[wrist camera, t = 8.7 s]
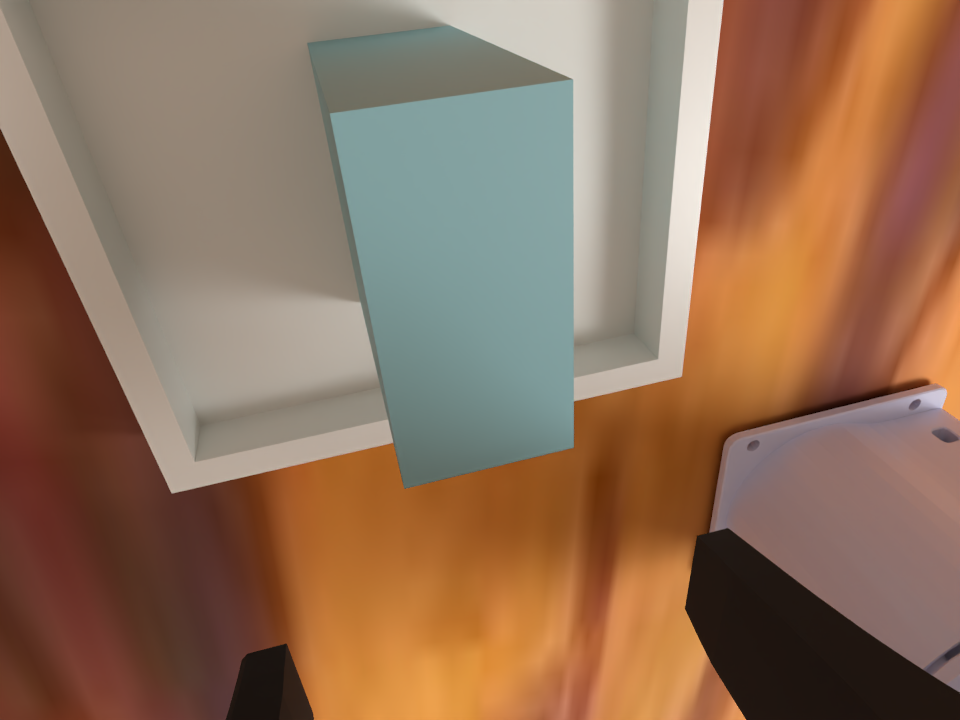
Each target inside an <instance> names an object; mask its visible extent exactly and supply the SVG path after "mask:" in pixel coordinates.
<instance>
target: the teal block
mask: <svg viewBox="0 0 960 720" xmlns="http://www.w3.org/2000/svg"><path fill="white" fill-rule="evenodd" d="M307 44H308V49H309V54H310V59H311V64H312V69H313V74H314V79H315V83H316V88H317V93H318V98H319V103H320V108H321V113H322V118H323V122H324V127H325V132H326V137H327V142H328V147H329V152H330V157H331V161H332V166H333V171H334V176H335V181H336V186H337V191H338V196H339V200H340V205H341V210H342V215H343V220H344V225H345V230H346V234H347V239H348V244H349V249H350V254H351V259H352V264H353V269H354V273H355V278H356V283H357V288H358V293H359V298H360V303H361V307H362V311H363V315H364V320H365V324H366V328H367V332H368V337H369V341H370V345H371V349H372V354H373V358H374V362H375V366H376V371H377V375H378V379H379V383H380V388H381V392H382V396H383V400H384V405H385V409H386V413H387V417H388V422H389V426H390V430H391V434H392V439H393V443H394V447H395V451H396V456H397V460H398V464H399V468H400V473H401V477H402V481H403V485H404V489H406V488H410V487H414V486H418V485H422V484H426V483H431V482H435V481H439V480H443V479H447V478H451V477H455V476H459V475H463V474H468V473H472V472H476V471H480V470H484V469H488V468H492V467H496V466H501V465H505V464H509V463H513V462H517V461H521V460H525V459H529V458H534V457H538V456H542V455H546V454H550V453H554V452H558V451H562V450H566V449H571V448H574V213H573V79H571V78H569V77H567V76H565V75H562V74H560V73H558V72H555V71H553V70H551V69H549V68H546V67H544V66H542V65H539V64H537V63H535V62H533V61H530V60H528V59H526V58H523V57H521V56H519V55H517V54H514V53H512V52H510V51H507V50H505V49H503V48H501V47H498V46H496V45H494V44H492V43H489V42H487V41H485V40H482V39H480V38H478V37H476V36H473V35H471V34H469V33H466V32H464V31H462V30H460V29H457V28H455V27H453V26H442V27H434V28H425V29H417V30H409V31H401V32H392V33H384V34H376V35H368V36H359V37H351V38H343V39H335V40H326V41H318V42H310V43H307Z"/></svg>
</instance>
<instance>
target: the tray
mask: <svg viewBox="0 0 960 720" xmlns="http://www.w3.org/2000/svg"><path fill="white" fill-rule="evenodd" d="M723 1H724V0H0V129H1V131H2V133H3V135H4V137H5V140H6V142H7V144H8V146H9V148H10V150H11V152H12V154H13V157H14V159H15V161H16V163H17V165H18V167H19V169H20V171H21V174H22V176H23V178H24V180H25V182H26V184H27V186H28V188H29V191H30V193H31V195H32V197H33V199H34V201H35V203H36V206H37V208H38V210H39V212H40V214H41V216H42V218H43V220H44V223H45V225H46V227H47V229H48V231H49V233H50V235H51V237H52V240H53V242H54V244H55V246H56V248H57V250H58V252H59V254H60V257H61V259H62V261H63V263H64V265H65V267H66V269H67V272H68V274H69V276H70V278H71V280H72V282H73V284H74V286H75V289H76V291H77V293H78V295H79V297H80V299H81V301H82V303H83V306H84V308H85V310H86V312H87V314H88V316H89V318H90V321H91V323H92V325H93V327H94V329H95V331H96V333H97V335H98V338H99V340H100V342H101V344H102V346H103V348H104V350H105V352H106V355H107V357H108V359H109V361H110V363H111V365H112V367H113V369H114V372H115V374H116V376H117V378H118V380H119V382H120V384H121V387H122V389H123V391H124V393H125V395H126V397H127V399H128V401H129V404H130V406H131V408H132V410H133V412H134V414H135V416H136V418H137V421H138V423H139V425H140V427H141V429H142V431H143V433H144V436H145V438H146V440H147V442H148V444H149V446H150V448H151V450H152V453H153V455H154V457H155V459H156V461H157V463H158V465H159V467H160V470H161V472H162V474H163V476H164V478H165V480H166V482H167V484H168V487H169V489H170V491H171V493H176V492H181V491H185V490H189V489H194V488H198V487H203V486H207V485H211V484H216V483H220V482H224V481H229V480H233V479H238V478H242V477H246V476H251V475H255V474H259V473H264V472H268V471H272V470H277V469H281V468H286V467H290V466H294V465H299V464H303V463H307V462H312V461H316V460H321V459H325V458H329V457H334V456H338V455H342V454H347V453H351V452H355V451H360V450H364V449H369V448H373V447H377V446H382V445H386V444H390V443H393V439H392V434H391V430H390V426H389V422H388V417H387V413H386V409H385V405H384V400H383V396H382V392H381V388H380V383H379V379H378V375H377V371H376V366H375V362H374V358H373V354H372V349H371V345H370V341H369V337H368V332H367V328H366V324H365V320H364V315H363V311H362V307H361V303H360V298H359V293H358V288H357V283H356V278H355V273H354V269H353V264H352V259H351V254H350V249H349V244H348V239H347V234H346V230H345V225H344V220H343V215H342V210H341V205H340V200H339V196H338V191H337V186H336V181H335V176H334V171H333V166H332V161H331V157H330V152H329V147H328V142H327V137H326V132H325V127H324V122H323V118H322V113H321V108H320V103H319V98H318V93H317V88H316V83H315V79H314V74H313V69H312V64H311V59H310V54H309V49H308V44H307V43H310V42H318V41H326V40H335V39H343V38H351V37H359V36H368V35H376V34H384V33H392V32H401V31H409V30H417V29H425V28H434V27H442V26H453V27H455V28H457V29H460V30H462V31H464V32H466V33H469V34H471V35H473V36H476V37H478V38H480V39H482V40H485V41H487V42H489V43H492V44H494V45H496V46H498V47H501V48H503V49H505V50H507V51H510V52H512V53H514V54H517V55H519V56H521V57H523V58H526V59H528V60H530V61H533V62H535V63H537V64H539V65H542V66H544V67H546V68H549V69H551V70H553V71H555V72H558V73H560V74H562V75H565V76H567V77H569V78H571V79H573V213H574V401H578V400H583V399H587V398H591V397H596V396H600V395H604V394H609V393H613V392H618V391H622V390H626V389H631V388H635V387H639V386H644V385H648V384H653V383H657V382H661V381H666V380H670V379H674V378H679V377H682V371H683V362H684V353H685V344H686V335H687V326H688V317H689V308H690V299H691V290H692V281H693V272H694V263H695V253H696V244H697V235H698V226H699V217H700V208H701V199H702V190H703V181H704V172H705V163H706V154H707V145H708V136H709V127H710V118H711V109H712V100H713V91H714V82H715V73H716V64H717V55H718V46H719V37H720V28H721V19H722V10H723Z"/></svg>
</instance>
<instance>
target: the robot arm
mask: <svg viewBox="0 0 960 720" xmlns="http://www.w3.org/2000/svg"><path fill="white" fill-rule="evenodd" d="M946 396H947V391H946V389H945V388H943V387H942V386H940V385H938V384H931V385H927V386H923V387H919V388H915V389H911V390H907V391H903V392H899V393H895V394H891V395H887V396H883V397H879V398H875V399H871V400H867V401H863V402H859V403H855V404H850V405H846V406H842V407H838V408H834V409H830V410H826V411H822V412H818V413H814V414H810V415H806V416H802V417H798V418H794V419H790V420H786V421H782V422H778V423H774V424H770V425H766V426H762V427H758V428H754V429H750V430H746V431H742V432H738V433H735V434H733V435H731V436H730V437H728V439H727V440H726V441H725V444H724V447H723V453H722V459H721V465H720V471H719V477H718V483H717V489H716V495H715V501H714V507H713V513H712V519H711V526H710V532H709V533H707V534H703V535H699V536H697V540H696V546H695V552H694V558H693V564H692V570H691V576H690V582H689V588H688V594H687V600H686V606H685V609H686V612H687V614H688V616H689V618H690V620H691V622H692V624H693V627H694V629H695V631H696V633H697V635H698V637H699V639H700V641H701V643H702V645H703V647H704V649H705V651H706V653H707V655H708V657H709V659H710V661H711V663H712V665H713V667H714V668H715V670H716V672H717V673H718V675H719V677H720V678H721V680H722V682H723V683H724V685H725V686H726V688H727V690H728V691H729V693H730V694H731V696H732V698H733V699H734V701H735V702H736V704H737V706H738V707H739V709H740V710H741V712H742V714H743V715H744V717H745V718H746V720H960V421H959V420H958V419H956V418H955V417H953V416H952V415H950V414H949V413H948V412H946V411H945V410H943V409H942V407H943V404H944V401H945V399H946ZM226 720H314V717H313V712H312V709H311V707H310V704H309V701H308V699H307V696H306V693H305V691H304V688H303V686H302V683H301V680H300V678H299V675H298V672H297V670H296V667H295V664H294V662H293V659H292V657H291V654H290V651H289V649H288V646H287V644H283V645H280V646H276V647H272V648H268V649H264V650H260V651H257V652H253V653H249V654H247V655H246V656H245V657H244V658H243V660H242V662H241V666H240V670H239V675H238V679H237V682H236V686H235V690H234V693H233V697H232V701H231V704H230V708H229V711H228V714H227V718H226Z"/></svg>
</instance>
